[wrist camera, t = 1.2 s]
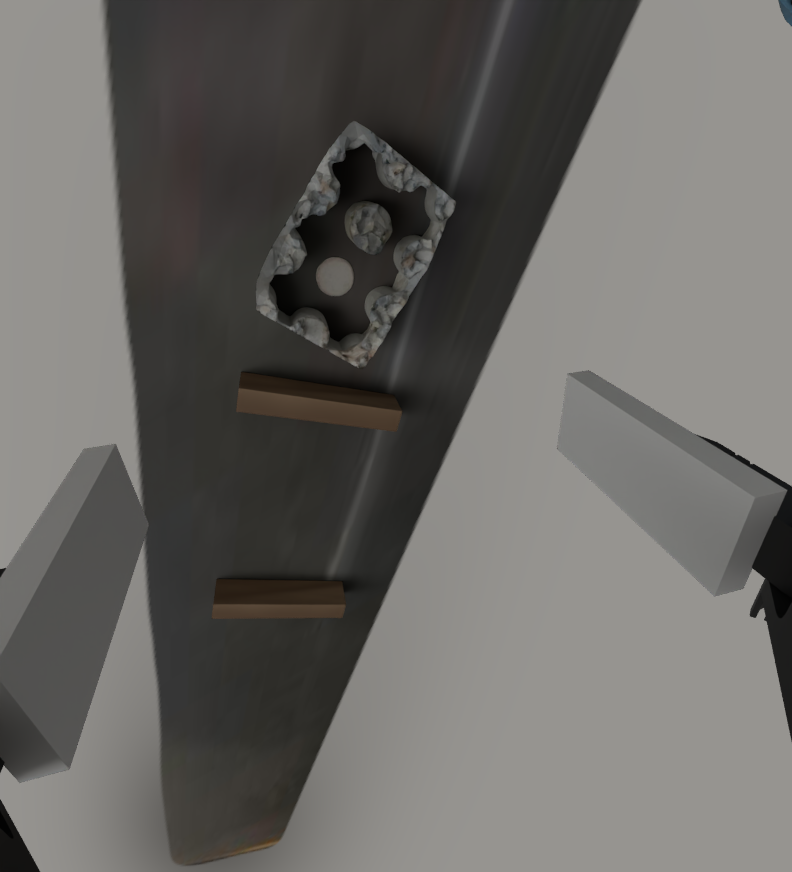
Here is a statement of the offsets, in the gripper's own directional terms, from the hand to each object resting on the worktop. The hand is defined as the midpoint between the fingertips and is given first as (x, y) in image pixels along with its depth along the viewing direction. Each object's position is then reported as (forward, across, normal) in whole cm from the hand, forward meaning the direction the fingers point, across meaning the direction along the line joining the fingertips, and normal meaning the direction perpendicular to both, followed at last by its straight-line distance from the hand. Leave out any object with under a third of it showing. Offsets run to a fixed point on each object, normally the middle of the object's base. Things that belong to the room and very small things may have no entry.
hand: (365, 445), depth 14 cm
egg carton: (+17, +2, +3) cm, 18 cm away
